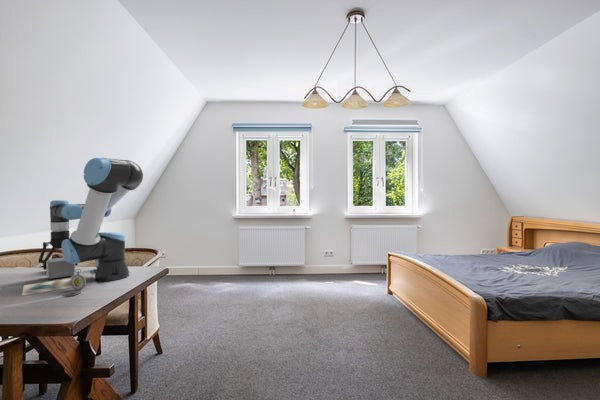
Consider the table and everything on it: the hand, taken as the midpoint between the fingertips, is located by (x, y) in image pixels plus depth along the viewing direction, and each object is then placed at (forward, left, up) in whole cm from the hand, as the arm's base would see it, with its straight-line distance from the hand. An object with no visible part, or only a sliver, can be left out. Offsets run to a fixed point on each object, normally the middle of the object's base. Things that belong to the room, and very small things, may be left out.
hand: (61, 273), depth 155 cm
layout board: (-10, +15, -2) cm, 18 cm away
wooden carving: (+14, -13, -3) cm, 20 cm away
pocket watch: (-27, +23, -3) cm, 35 cm away
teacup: (-11, -18, -3) cm, 21 cm away
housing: (0, 0, -1) cm, 1 cm away
